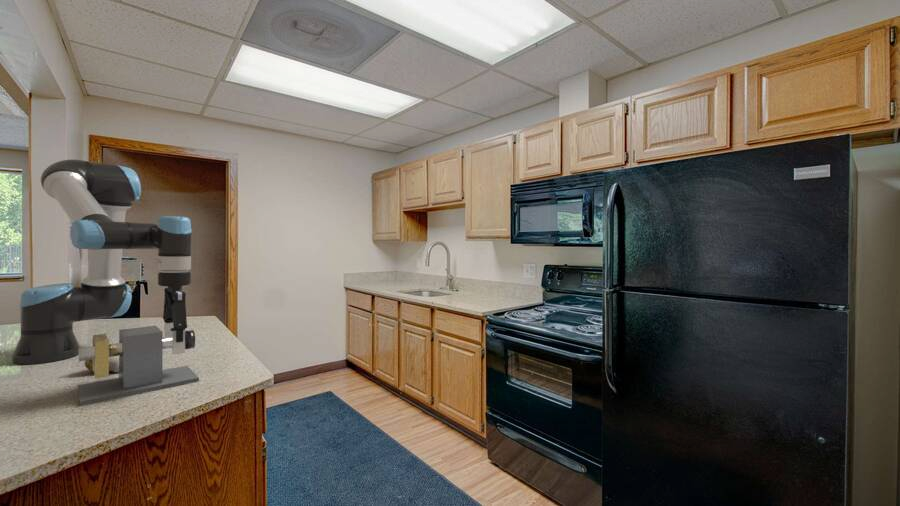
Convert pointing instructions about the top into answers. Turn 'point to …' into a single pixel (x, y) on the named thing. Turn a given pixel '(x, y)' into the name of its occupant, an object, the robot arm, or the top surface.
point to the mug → (112, 364)
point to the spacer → (101, 356)
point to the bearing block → (140, 357)
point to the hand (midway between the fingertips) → (174, 349)
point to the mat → (114, 389)
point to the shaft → (116, 349)
